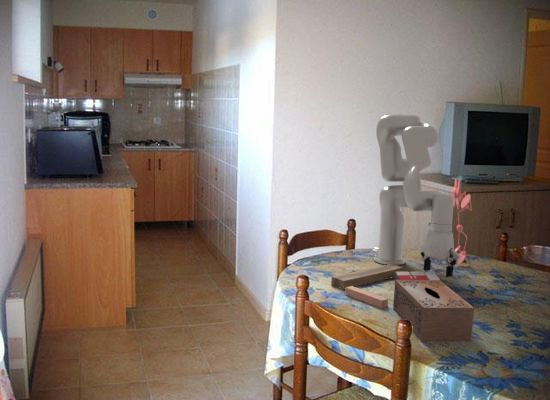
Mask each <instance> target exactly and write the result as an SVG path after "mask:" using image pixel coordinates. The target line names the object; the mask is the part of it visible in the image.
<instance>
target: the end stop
mask: <svg viewBox="0 0 550 400" xmlns="http://www.w3.org/2000/svg"><path fill="white" fill-rule="evenodd" d="M344 294H345V295H347V296H348V297H351V298H354V299H356V300H359V301H362V302H364V303H366V304H370V305H372V306H375V307H377V308H380V309H383V308H386V307H387V308H388V307H389V305H388V304H389V298H387V297H383V296H381V295H378V294H376V293H372V292H370V291H367V290H364V289H361V288H358V287H357V286H355V287H354V286H350V287H346V289H345V293H344Z"/></svg>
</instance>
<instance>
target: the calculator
mask: <svg viewBox="0 0 550 400" xmlns="http://www.w3.org/2000/svg"><path fill="white" fill-rule="evenodd" d="M395 280H440V281H441V282H443V281H442V279H440V277H439V275H438V274H437V273H436V272H435V271H410V272H409V271H403V272H396V273H395V277H394V281H395Z"/></svg>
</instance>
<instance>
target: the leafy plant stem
mask: <svg viewBox="0 0 550 400" xmlns="http://www.w3.org/2000/svg"><path fill="white" fill-rule="evenodd" d="M461 189H462V184H461V180H460V179H459V180H458V179H457V178H455V180H454V186H453V187H452V190H451V191H452V196H453V198H454V203H453V208H455V207H456V209H457V210H458V212H457V220H458V221H457V222H458V223H457V224H458V225H456V230H457V231H458V240H457V241H458V242H457V247H456V248H454V251H455V252H457V253H458V251H459V253H458V254H459V255H460V256H461V257H460V259H459V261H458V263H456V266H459V265H461V264H462V263H463V262H464V260H465V262H466V263H467V265H468V267H469V266H470V263H469V261H468V258H467V257H466V256H467V252H466V250H465V249H466V245H467V241H468V236H467V234H465V233H464V232H463V230H464V226H463V225H462V224H460V213H461V212H463V211H465V210H467V209H468V210H469V211H470V212H471V213H472V212H473V206H472V200H471V194H470V193H468V194H467V192H466V191H463V192H462V190H461ZM460 201H461V202H460ZM460 203H461V204H460ZM468 204H469V205H468ZM460 208H461V210H459V209H460ZM461 233H462V234H463V235H464V236H465V237H466V239H465V244H464V247H463V250H461V249H460V248H461V245H460V236H461V235H460V234H461ZM433 263H434V264H436V262H435V261H433ZM437 265H438V266H441V267H442V265H441V264H438V263H437ZM443 267H444V268H446V266H444V265H443Z"/></svg>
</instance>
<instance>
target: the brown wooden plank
mask: <svg viewBox="0 0 550 400" xmlns="http://www.w3.org/2000/svg"><path fill="white" fill-rule="evenodd" d="M396 272H404V267H402V266H401V265H393V264H388V265H386V264H383V265H380V266H379V265H378V266H373V267H371V268H366V269H361V270H357V271H352V272H347V273H343V274H338V275H333V276H331V284H330V285H331V286H333V285H335V286H334V287H336V286H337V287H336V288H339V287H340V288H339V289H341V288H342V289H341V290H346V289H345V288H346V287H350V286H355V287H358V285H359V286H362V285H367V283H368V284H371V282H372V283H376V282H380V281H384V280H388V279H387V278H389V279H392V278H391V277H393V278H395V273H396ZM383 279H384V280H383ZM375 281H376V282H375Z"/></svg>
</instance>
